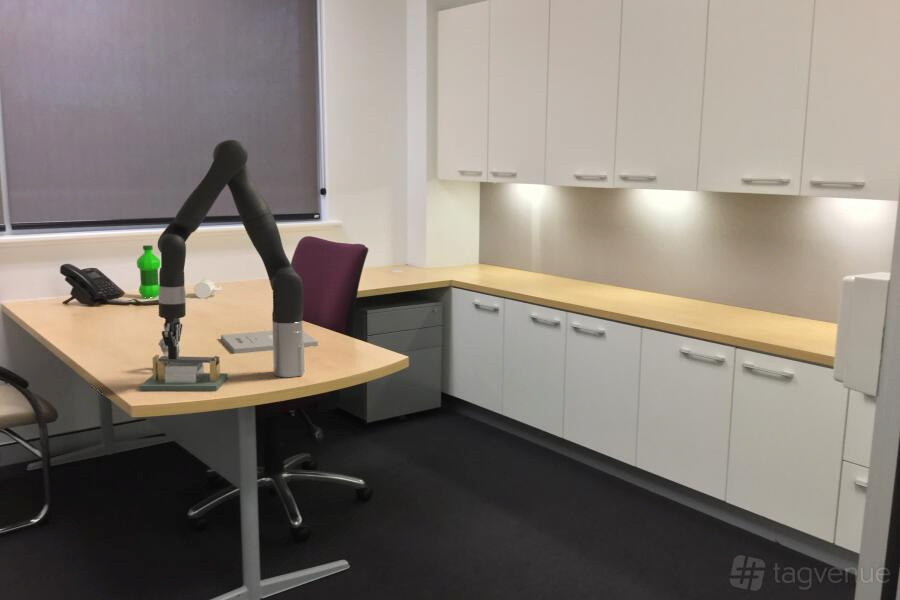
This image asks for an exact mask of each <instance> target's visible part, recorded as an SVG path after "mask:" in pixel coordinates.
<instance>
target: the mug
mask: <svg viewBox="0 0 900 600" xmlns="http://www.w3.org/2000/svg"><path fill="white" fill-rule="evenodd" d="M193 289H194V290H193V291H194V295H195V296H196V297H197V298H199V299H207V298H209V296H211V295H212V294H213V293H214V292H220V291H222V289H223V288H222V287H221V286H216V285H215V283H214V281H212V280H211V279H206V278H204V279H202V280H201V281H199V282H198V283H196V285H194V288H193Z"/></svg>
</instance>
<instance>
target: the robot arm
mask: <svg viewBox="0 0 900 600" xmlns="http://www.w3.org/2000/svg"><path fill="white" fill-rule="evenodd" d="M212 157H213V158H212V159H213V162H212V164H211V165H210V168H209V169H208V171H207V173H206V174H205V176H204V177H203V179H202V180H201V181H200V183H199V184H198V185H197V186H196V187H195V188H194V190H193V191H192V192H191V193H190V195H189V196H188V197H187V199H186V200H185V201H184V203H183V205H182V206H181V208H180V209H179V211H178V212H177V213H176V216H175V217H174V219H173V220H172V221H171V222H170V223H169V224H168V226H167V227H166V228H165V229H164V230H163V231H162V233H161V234H160V236H159V238H158V241H157V249H158V250H159V252H160V256H161V257H160V258H161V259H160V267H159V270H158V284H159V295H158V316H159V317H160V318H161V319H165V321H164V323H163V330H161V331H162V332H161V336H162V338H163V339H164V343H165V345H167V346H168V358H169V359H175V358H176V357H177V346H176V345H178V343H180V340H181V335H182V331H183V324H182V322H181V320H180V319H181V318H184V317H186V315H187V314H186V312H187V311H186V308H187V307H186V287H185V264H186V256H187V251H186V250H187V245H186V242H187V241H188V239H189V238H190V236H191V235H192V234H193V233H194V232H197V230H198V228H199V227H200V226H201V224H202V223H203V221H204V219H205V218H206V217H207V215H208V213H209V212H210V210H211V209H212V207H213V205H214V204H215V202H216V201H217V199H218V198H219V195H221V193H222V192H223V190H224V188H225V187H226V186H228V187H227V188H228V189H229V191H230V193H231V196H232V199H233V202H234V204H235V207H236V210H237V213H238V215H239V218H240V220H241V223H242V225H243V227H244V229H245V231H246V234H247V236H248V238H249V240H250V241H251V244H252V245H253V246H254V248H255V250H256V252H257V253H258V255H259V256H260V259H261V260H262V264H263V266H264V268H265V270H266V274H267V277H268V280H269V285H270V287H271V290H272V314H271V317H272V318H271V319H272V331H273V350H272V354H273V356H272V357H273V359H272V360H273V375H274V376H276V377H279V378H296V377H303V375H304V373H305V347H304V342H303V331H304V330H303V327H304V326H303V314H304V282H303V279H302V278H301V276H300V275H299V274H298V273H297V272H296V271H295V269H294V267H293V266H292V264H291V261H290V260H289V258H288V257H287V255H286V252H285V250H284V246H283V242H282V237H281V234H280V231H279V228H278V224H277V221H276V220H275V217H274V215H273V213H272V210H271V208H270V206H269V205H268V203H267V201H266V199H265V198H264V197H263V195H262V193H261V192H260V191H259V189H258V188H257V186H256V185H255V183H254V181H253V179H252V177H251V174H250V171H249V168H248V166H247V162H248V158H249V155H248V150H247V148H246V146H245V145H244V143H242V142H240V141H239V140H236V139H228V140H223V141H221V142H219V143H218V144H217V145H216V146H215V147H214V149H213V153H212Z"/></svg>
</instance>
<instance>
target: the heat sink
mask: <svg viewBox="0 0 900 600" xmlns="http://www.w3.org/2000/svg"><path fill="white" fill-rule="evenodd" d="M204 373H205V366H204V363H196V362H171V363H169V364H167V366H165V384H196V383H197V382H198V381H199V380H200V379H201V378H202V377H203V376H204Z"/></svg>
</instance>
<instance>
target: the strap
mask: <svg viewBox="0 0 900 600" xmlns="http://www.w3.org/2000/svg"><path fill="white" fill-rule="evenodd" d="M218 357H219V356H217V355H215V356H180V355H179V356H177V357H176V358H175V359H169V358H168V356H164V355H162V356H159V359H158V362H196V363H203V364H210V361H216V362H217V361H218V360H219V359H220V357H219V358H218Z"/></svg>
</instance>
